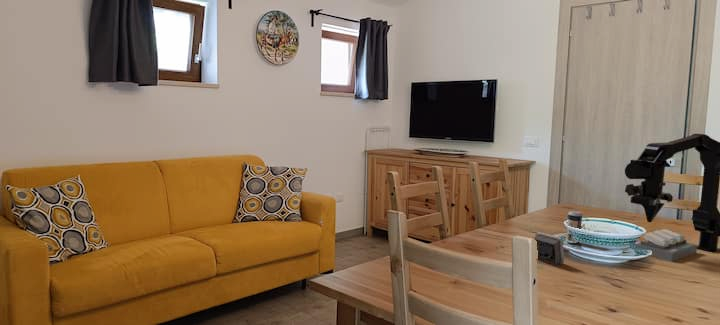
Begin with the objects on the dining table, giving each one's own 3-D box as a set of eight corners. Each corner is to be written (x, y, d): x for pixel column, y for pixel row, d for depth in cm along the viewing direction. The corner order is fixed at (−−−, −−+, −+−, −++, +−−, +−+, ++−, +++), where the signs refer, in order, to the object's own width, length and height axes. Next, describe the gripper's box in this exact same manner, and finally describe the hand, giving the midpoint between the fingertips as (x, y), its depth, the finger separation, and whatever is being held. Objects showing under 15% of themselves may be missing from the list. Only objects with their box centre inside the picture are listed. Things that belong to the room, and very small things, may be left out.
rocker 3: (663, 233, 182) (665, 228, 181) (683, 241, 176) (685, 236, 176) (658, 234, 179) (660, 229, 179) (678, 242, 174) (680, 237, 173)
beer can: (580, 245, 179) (583, 213, 178) (567, 244, 180) (570, 212, 179) (577, 241, 184) (580, 211, 183) (564, 240, 185) (567, 210, 184)
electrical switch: (564, 264, 157) (565, 236, 155) (556, 268, 154) (556, 240, 152) (538, 256, 164) (539, 230, 162) (530, 260, 161) (530, 234, 159)
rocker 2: (656, 234, 178) (658, 229, 177) (675, 243, 173) (678, 239, 172) (651, 235, 176) (653, 231, 175) (670, 245, 171) (673, 240, 170)
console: (660, 244, 184) (661, 233, 184) (696, 253, 175) (697, 241, 174) (634, 252, 173) (635, 240, 173) (671, 261, 163) (672, 249, 163)
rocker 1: (648, 236, 175) (650, 231, 174) (668, 246, 169) (670, 241, 169) (643, 237, 172) (645, 233, 172) (663, 247, 167) (665, 242, 166)
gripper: (643, 174, 182) (638, 214, 184) (617, 177, 172) (613, 219, 174) (675, 178, 173) (670, 221, 175) (650, 182, 163) (645, 226, 165)
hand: (649, 222), depth 172 cm, fingers closed
